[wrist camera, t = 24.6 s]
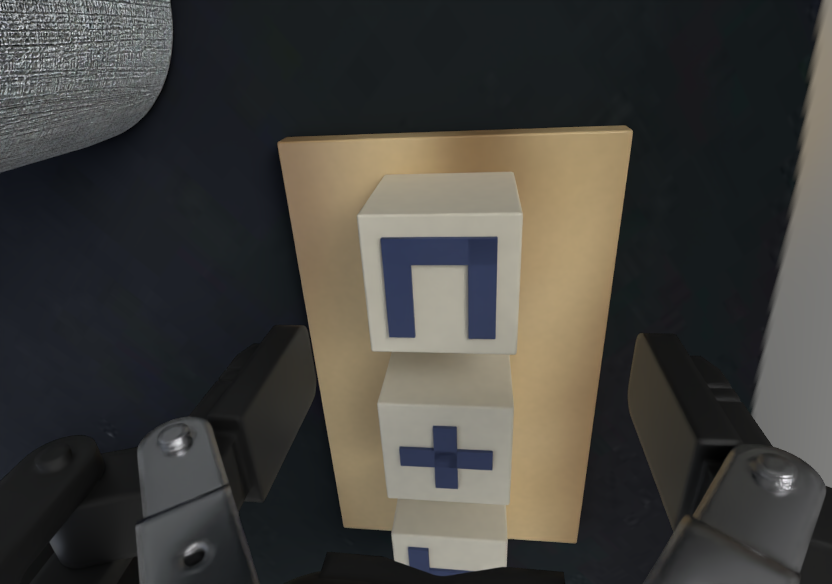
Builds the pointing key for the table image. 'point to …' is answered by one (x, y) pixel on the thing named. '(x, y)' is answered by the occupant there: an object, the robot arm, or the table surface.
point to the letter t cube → (449, 536)
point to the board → (538, 300)
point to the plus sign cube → (447, 427)
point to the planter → (77, 72)
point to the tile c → (442, 263)
